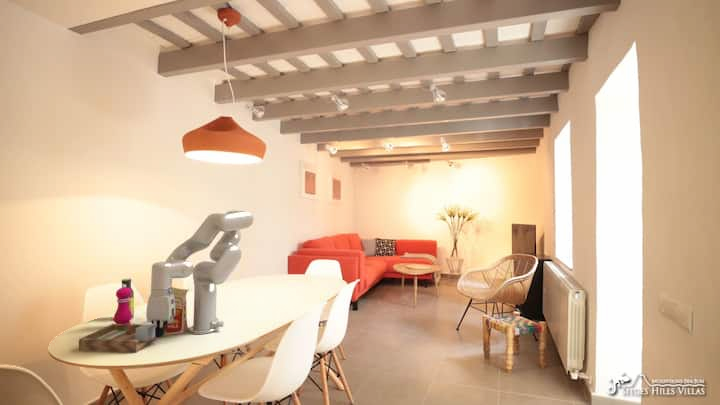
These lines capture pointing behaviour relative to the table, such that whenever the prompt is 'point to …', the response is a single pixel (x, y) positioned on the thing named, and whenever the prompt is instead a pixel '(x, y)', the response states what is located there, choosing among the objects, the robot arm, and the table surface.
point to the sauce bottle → (131, 302)
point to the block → (145, 332)
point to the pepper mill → (123, 306)
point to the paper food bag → (178, 313)
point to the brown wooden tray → (114, 339)
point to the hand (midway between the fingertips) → (159, 336)
